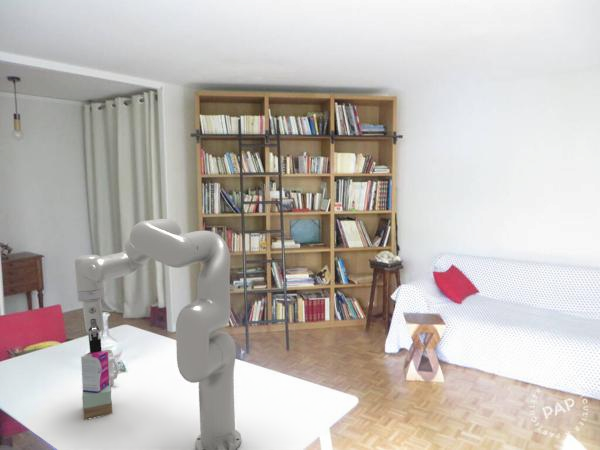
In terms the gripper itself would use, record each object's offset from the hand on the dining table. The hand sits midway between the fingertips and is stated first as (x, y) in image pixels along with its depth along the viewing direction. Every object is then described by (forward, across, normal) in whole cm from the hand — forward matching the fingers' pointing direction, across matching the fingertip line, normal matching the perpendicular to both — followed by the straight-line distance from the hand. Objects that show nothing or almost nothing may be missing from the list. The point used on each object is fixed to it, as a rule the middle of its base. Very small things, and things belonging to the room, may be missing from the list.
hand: (95, 347), depth 138 cm
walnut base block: (+22, +1, +1) cm, 22 cm away
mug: (+21, +19, -4) cm, 29 cm away
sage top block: (+18, +1, +1) cm, 18 cm away
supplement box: (+14, 0, +1) cm, 14 cm away
